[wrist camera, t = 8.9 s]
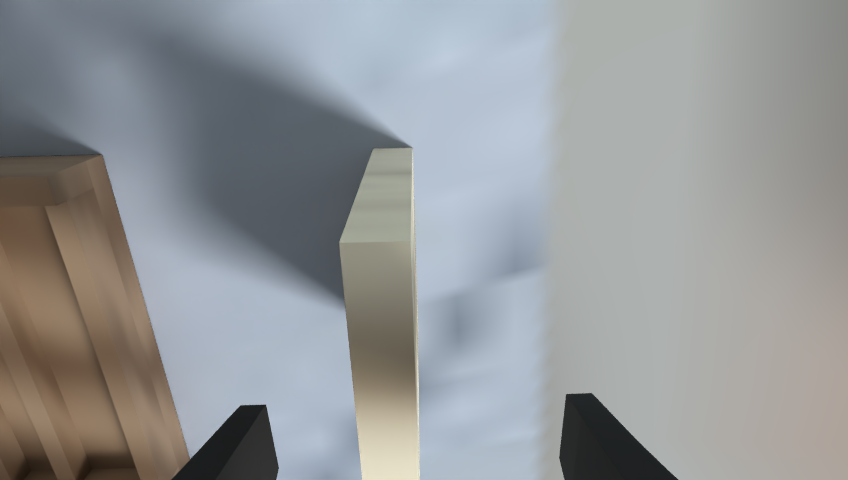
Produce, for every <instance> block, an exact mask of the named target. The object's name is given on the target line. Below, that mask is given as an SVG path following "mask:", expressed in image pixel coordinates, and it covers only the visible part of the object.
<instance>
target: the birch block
mask: <svg viewBox="0 0 848 480" xmlns="http://www.w3.org/2000/svg"><path fill="white" fill-rule="evenodd" d="M339 248H340V258H341V268H342V278H343V288H344V298H345V308H346V319H347V329H348V339H349V349H350V359H351V369H352V379H353V389H354V400H355V410H356V420H357V430H358V440H359V450H360V460H361V471H362V480H419V380H418V311H417V277H416V244H415V211H414V178H413V148H374V149H373V151H372V153H371V156H370V159H369V162H368V164H367V167H366V170H365V173H364V175H363V178H362V181H361V184H360V186H359V189H358V192H357V195H356V197H355V200H354V203H353V206H352V208H351V211H350V214H349V217H348V220H347V222H346V225H345V228H344V231H343V233H342V236H341V239H340V242H339Z"/></svg>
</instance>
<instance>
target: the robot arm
mask: <svg viewBox="0 0 848 480" xmlns="http://www.w3.org/2000/svg"><path fill="white" fill-rule="evenodd" d="M559 458H560V462H561V467H562V471H563V475H564V479H565V480H678V479H677V478H676V477H675V476H674V475H673V474H671V473H670V472H669V471H668V470H667V469H666V468H665V467H664V466H663V465H662V464H661V463H660V462H659V461H658V460H657V459H656V458H655V457H654V456H653V455H652V454H651V453H649V451H647V450H646V449H645V448H644V447H643V446H642V445H641V444H640V443H639V442H638V441H637V440H636V439H635V438H634V437H633V436H632V435H631V434H630V433H629V431H628V430H626V428H625V427H624V426H623V425H622V424H621V423H620V422H619V421H618V420H617V419H616V418H615V417H614V416H613V415H612V414H611V413H610V412H609V411H608V410H607V408H605V407H604V406H603V404H602V403H601V402H600V401H599V400H598V399H597V398H596V397H595V396H594V395H593V394H592V393H586V394H567V395H566V401H565V411H564V419H563V428H562V437H561V447H560V456H559ZM278 469H279V467H278V462H277V457H276V452H275V447H274V442H273V437H272V432H271V427H270V422H269V417H268V412H267V407H266V405H242V406H240V407H239V408H238V409H237V410H236V411H235V412H234V413H233V414H232V415H231V416H230V417H229V418H228V419H227V420H226V421H225V423H224V424H223V425H222V426H221V427H220V428H219V429H218V430H217V431H216V432H215V433H214V435H213V436H212V437H211V438H210V439H209V440H208V441H207V442H206V443H205V444H204V445H203V446H202V448H201V449H200V450H199V451H198V452H197V453H196V454H195V455H194V456H193V457H192V458H191V459H190V460H189V461H188V462H187V463H186V464H185V465H184V467H183V468H182V469H181V470H180V471H179V472H178V473H177V474H176V475H175V476H174V477H173V478H172V479H171V480H276V478H277V473H278Z"/></svg>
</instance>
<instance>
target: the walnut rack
mask: <svg viewBox="0 0 848 480" xmlns="http://www.w3.org/2000/svg"><path fill="white" fill-rule="evenodd" d="M189 460H190V458H189V454H188V451H187V447H186V444H185V441H184V437H183V434H182V430H181V427H180V423H179V420H178V416H177V413H176V409H175V406H174V402H173V399H172V395H171V392H170V388H169V385H168V381H167V378H166V375H165V371H164V368H163V364H162V361H161V357H160V354H159V350H158V347H157V343H156V340H155V336H154V333H153V329H152V326H151V322H150V319H149V315H148V312H147V309H146V305H145V302H144V298H143V295H142V291H141V288H140V284H139V281H138V277H137V274H136V270H135V267H134V263H133V260H132V256H131V253H130V249H129V246H128V242H127V239H126V236H125V232H124V229H123V225H122V222H121V218H120V215H119V211H118V208H117V204H116V201H115V197H114V194H113V190H112V187H111V183H110V180H109V176H108V173H107V170H106V166H105V163H104V159H103V156H102V155H67V156H26V157H0V480H171V479H172V478H173V477H174V476H175V475H176V474H177V473H178V472H179V471H180V470H181V469H182V468H183V467H184V465H185V464H186V463H187V462H188V461H189Z"/></svg>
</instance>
